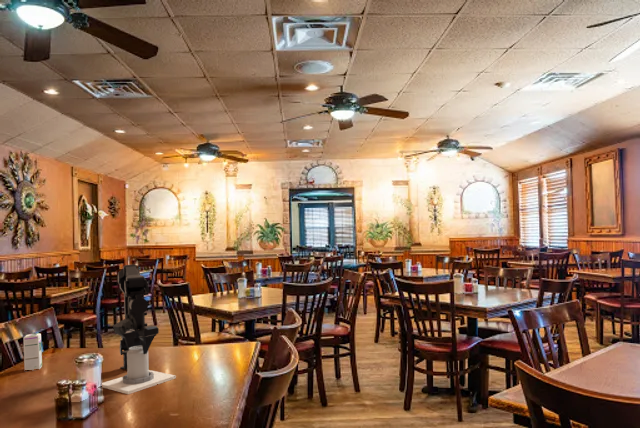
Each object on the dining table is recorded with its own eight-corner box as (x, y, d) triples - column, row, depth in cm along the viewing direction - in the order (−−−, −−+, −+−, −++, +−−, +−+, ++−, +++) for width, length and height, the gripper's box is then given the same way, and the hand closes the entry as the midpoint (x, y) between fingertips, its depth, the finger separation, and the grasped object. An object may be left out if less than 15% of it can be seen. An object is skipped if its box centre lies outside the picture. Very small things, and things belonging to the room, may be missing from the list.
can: (141, 382, 172) (141, 349, 173) (123, 382, 174) (122, 349, 174) (152, 376, 180) (152, 344, 180) (134, 376, 181) (134, 344, 182)
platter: (99, 386, 173) (99, 379, 174) (147, 372, 190) (146, 365, 190) (128, 394, 163) (128, 386, 163) (176, 378, 180) (175, 371, 180)
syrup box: (40, 369, 201) (39, 335, 202) (23, 371, 199) (23, 336, 199) (42, 366, 206) (41, 332, 207) (26, 368, 204) (26, 334, 205)
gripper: (102, 312, 176) (103, 355, 176) (131, 315, 166) (133, 360, 165) (129, 308, 185) (130, 348, 185) (159, 310, 175) (160, 353, 174)
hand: (137, 352), depth 177 cm, fingers open, 9 cm apart
